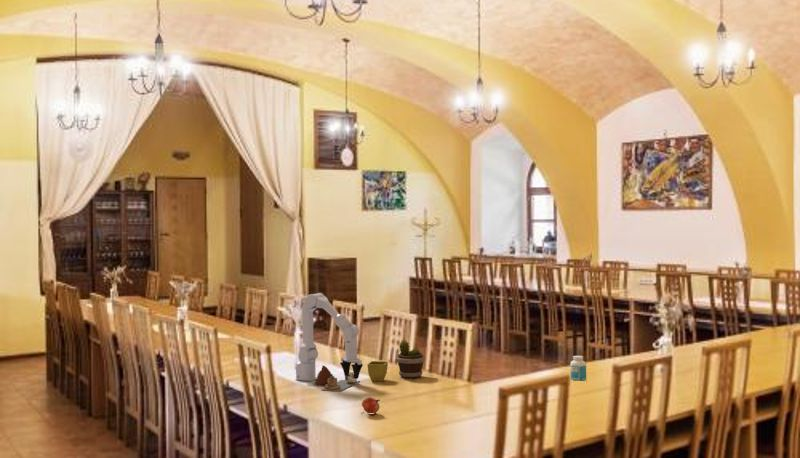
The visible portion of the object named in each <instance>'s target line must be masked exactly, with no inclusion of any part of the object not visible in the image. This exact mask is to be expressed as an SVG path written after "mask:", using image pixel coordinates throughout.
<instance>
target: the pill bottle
mask: <svg viewBox="0 0 800 458" xmlns="http://www.w3.org/2000/svg"><path fill="white" fill-rule="evenodd" d="M569 365H570V381H571V380H573V381H585V380H586V381H587V363H586V361H584V356H583V355H572V360H571V361H570V364H569Z"/></svg>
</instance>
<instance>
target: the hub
mask: <svg viewBox="0 0 800 458" xmlns="http://www.w3.org/2000/svg"><path fill="white" fill-rule="evenodd" d="M349 374H350V376H353V374H354V373H353V371H350V372H349ZM356 381H357V380H354V381H347V383H349V384H353V383H356Z"/></svg>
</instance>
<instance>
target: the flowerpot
mask: <svg viewBox="0 0 800 458" xmlns="http://www.w3.org/2000/svg"><path fill="white" fill-rule="evenodd" d="M410 347H411V345H410V342H408V341H407V340H406V339H404V338H402V339H401V341H400V342H399V346H398V350H399V353H398V354H397V356H396V357H395V362H396V363H397V365H398V367H399V371H398V374H399V376H400V378H402V379H405V380H406V379H407V380H409V379H410V380H412V379H415V380H416V379H420V378H421V376H422V375H423V372H424V371H423V365H424V362H425V361H426V357H425V355H424V353H423V352H420V350H419V349H418V348H416V347H415V346H414V348H412V349H411V348H410Z"/></svg>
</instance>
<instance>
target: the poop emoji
mask: <svg viewBox="0 0 800 458" xmlns="http://www.w3.org/2000/svg"><path fill="white" fill-rule="evenodd" d="M330 376H334V375H333V373H331V370H329V369H328V367H327V366H325V365H322V366H321V369H320V371H319V372H318V373H316V377H317V379H316V380H314V384H315V385H316V386H319V387H323V386H324V387H325V386H326V385H328V378H330Z"/></svg>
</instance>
